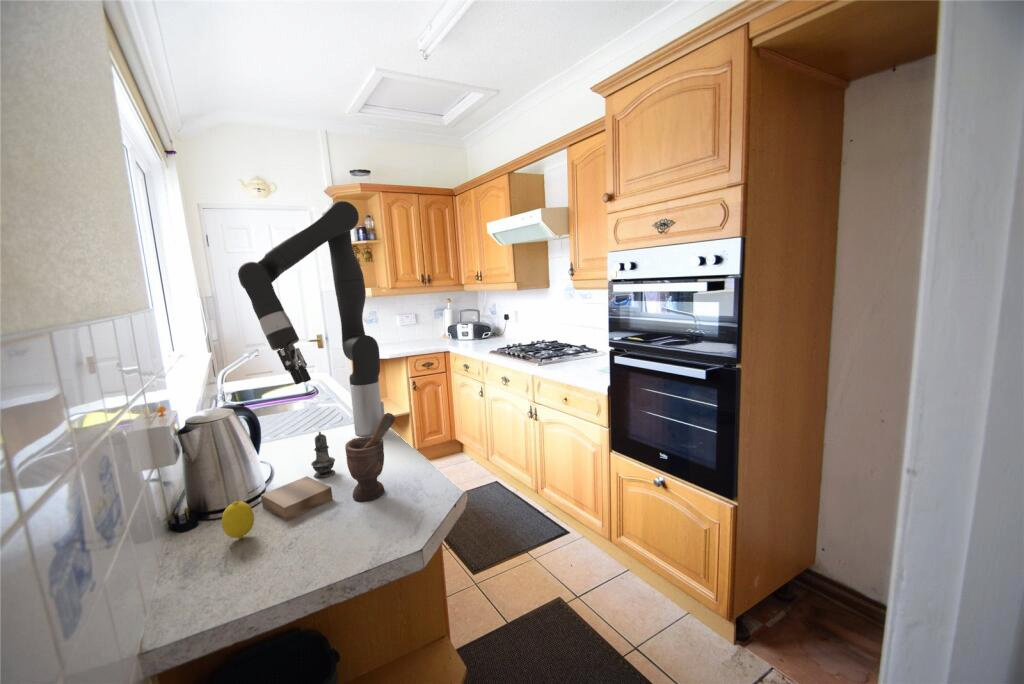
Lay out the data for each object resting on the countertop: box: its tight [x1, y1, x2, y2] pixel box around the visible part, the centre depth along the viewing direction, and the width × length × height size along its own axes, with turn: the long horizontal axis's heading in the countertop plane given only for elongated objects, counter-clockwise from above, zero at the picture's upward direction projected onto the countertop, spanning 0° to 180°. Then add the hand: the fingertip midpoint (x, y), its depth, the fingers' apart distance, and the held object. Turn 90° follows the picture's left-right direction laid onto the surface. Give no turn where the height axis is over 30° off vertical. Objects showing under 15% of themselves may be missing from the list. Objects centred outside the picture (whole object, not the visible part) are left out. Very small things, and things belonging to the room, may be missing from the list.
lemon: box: [221, 500, 255, 539], centre depth 89 cm, size 6×6×8 cm
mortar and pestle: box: [344, 412, 396, 502], centre depth 105 cm, size 12×9×20 cm
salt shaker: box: [310, 431, 336, 480], centre depth 117 cm, size 6×6×12 cm
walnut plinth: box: [260, 476, 334, 521], centre depth 103 cm, size 11×11×3 cm
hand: (304, 382), depth 126 cm, fingers open, 8 cm apart
